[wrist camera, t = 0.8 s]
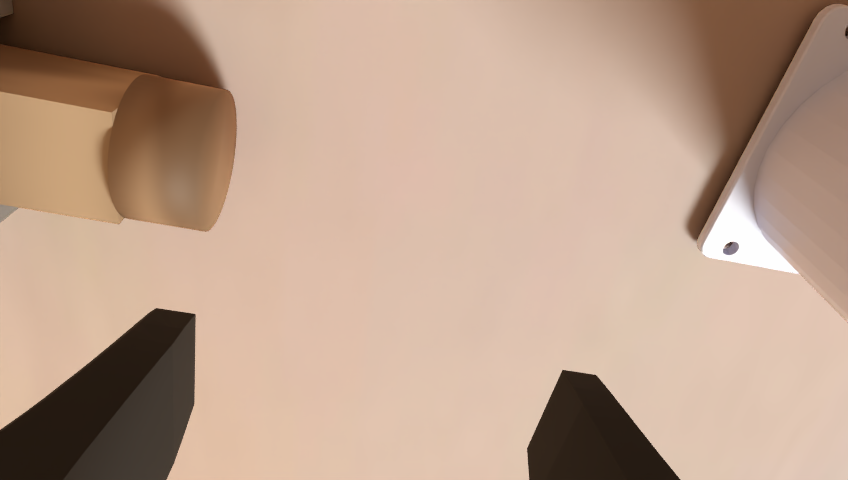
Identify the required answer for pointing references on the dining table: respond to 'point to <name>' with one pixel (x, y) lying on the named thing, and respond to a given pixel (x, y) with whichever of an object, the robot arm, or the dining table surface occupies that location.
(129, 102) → the walnut knob
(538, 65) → the dining table surface
